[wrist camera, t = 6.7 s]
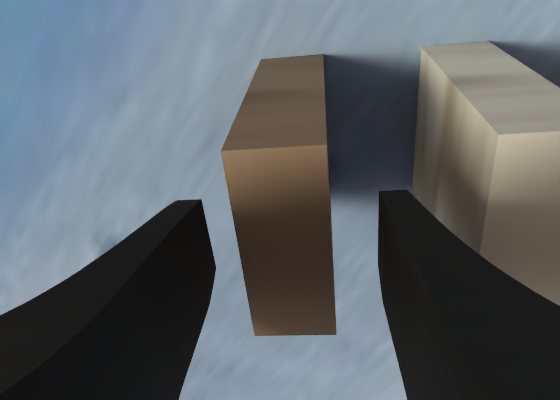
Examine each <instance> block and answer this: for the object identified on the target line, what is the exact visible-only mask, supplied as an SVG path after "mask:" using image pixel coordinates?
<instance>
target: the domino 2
mask: <svg viewBox="0 0 560 400" xmlns="http://www.w3.org/2000/svg"><path fill="white" fill-rule="evenodd" d="M413 189H414V192H415V195H416V197H417V200H418V201H419V202H420V203H421V204H422V205H423V206H424V207H425V208H426V209H427V210H428V211H429V212H430V213H431V214H433V215H434V216H435V217H436V218H437V219H438V220H439V221H440V222H441V223H442V224H443V225H444V226H445V227H447V228H448V229H449V230H450V231H451V232H452V233H453V234H455V235H456V236H457V237H458V238H459V239H460V240H462V241H463V242H464V243H465V244H467V245H468V246H469V247H470V248H472V249H473V250H474V251H476V252H477V253H478V254H480V255H481V256H482V257H484V258H485V259H486V260H488V261H489V262H490V263H492V264H493V265H494V266H496V267H497V268H499V269H500V270H502V271H503V272H505V273H506V274H508V275H509V276H511V277H512V278H514V279H516V280H517V281H519V282H520V283H522V284H523V285H525V286H527V287H528V288H530V289H531V290H533V291H535V292H536V293H538V294H540V295H541V296H543V297H545V298H547V299H548V300H550V301H552V302H554V303H556V304H557V305H559V306H560V88H559V87H558V86H556V85H555V84H553V83H551V82H550V81H548V80H547V79H545V78H544V77H542V76H541V75H539V74H538V73H536V72H535V71H533V70H532V69H530V68H529V67H527V66H526V65H524V64H522V63H521V62H519V61H518V60H516V59H515V58H513V57H512V56H510V55H509V54H507V53H506V52H504V51H503V50H501V49H500V48H498V47H497V46H495V45H493V44H492V43H490V42H489V41H483V42H471V43H459V44H447V45H435V46H423V47H421V54H420V71H419V88H418V105H417V122H416V139H415V156H414V173H413Z"/></svg>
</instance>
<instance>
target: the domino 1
mask: <svg viewBox="0 0 560 400" xmlns="http://www.w3.org/2000/svg"><path fill="white" fill-rule="evenodd" d="M221 155H222V160H223V165H224V171H225V176H226V182H227V187H228V193H229V198H230V204H231V209H232V215H233V220H234V226H235V231H236V236H237V242H238V247H239V253H240V258H241V264H242V269H243V275H244V280H245V286H246V291H247V297H248V302H249V307H250V313H251V318H252V324H253V329H254V335H255V336H275V335H336V316H335V293H334V270H333V247H332V225H331V202H330V180H329V160H328V140H327V120H326V100H325V80H324V60H323V54H320V55H308V56H297V57H285V58H273V59H261V61H260V63H259V65H258V68H257V70H256V72H255V75H254V77H253V79H252V81H251V84H250V86H249V88H248V91H247V93H246V95H245V97H244V100H243V102H242V104H241V106H240V109H239V111H238V113H237V116H236V118H235V120H234V122H233V125H232V127H231V129H230V131H229V134H228V136H227V138H226V141H225V143H224V145H223V147H222V150H221Z"/></svg>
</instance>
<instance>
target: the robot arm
mask: <svg viewBox="0 0 560 400" xmlns="http://www.w3.org/2000/svg"><path fill="white" fill-rule="evenodd" d="M378 268H379V276H380V284H381V292H382V299H383V304H384V308H385V312H386V316H387V320H388V324H389V328H390V332H391V336H392V340H393V344H394V348H395V352H396V356H397V359H398V363H399V367H400V371H401V375H402V379H403V383H404V387H405V391H406V396H407V400H560V306H559V305H557V304H556V303H554V302H552V301H550V300H548V299H547V298H545V297H543V296H541V295H540V294H538V293H536V292H535V291H533V290H531V289H530V288H528V287H527V286H525V285H523V284H522V283H520V282H519V281H517V280H516V279H514V278H512V277H511V276H509V275H508V274H506V273H505V272H503V271H502V270H500V269H499V268H497V267H496V266H494V265H493V264H492V263H490V262H489V261H488V260H486V259H485V258H484V257H482V256H481V255H480V254H478V253H477V252H476V251H474V250H473V249H472V248H470V247H469V246H468V245H467V244H465V243H464V242H463V241H462V240H460V239H459V238H458V237H457V236H456V235H455V234H453V233H452V232H451V231H450V230H449V229H448V228H447V227H445V226H444V225H443V224H442V223H441V222H440V221H439V220H438V219H437V218H436V217H435V216H434V215H433V214H431V213H430V212H429V211H428V210H427V209H426V208H425V207H424V206H423V205H422V204H421V203H420V202H419V201H418V200H417V199H416V198H415V197H414V196H413V195H412V194H411V193H410V192H409V191H408V190H392V191H379V226H378ZM215 271H216V265H215V261H214V256H213V251H212V247H211V242H210V237H209V233H208V228H207V224H206V219H205V214H204V210H203V205H202V201H201V199H200V200H178V201H175V202H173V203H172V204H170V205H169V206H167V207H166V208H164V209H163V210H162V211H160V212H159V213H158V214H156V215H155V216H154V217H153V218H151V219H150V220H149V221H147V222H146V223H145V224H143V225H142V226H141V227H140V228H138V229H137V230H136V231H134V232H133V233H132V234H130V235H129V236H128V237H126V238H125V239H124V240H122V241H121V242H120V243H118V244H117V245H116V246H114V247H113V248H111V249H110V250H109V251H107V252H106V253H104V254H103V255H101V256H100V257H99V258H97V259H96V260H94V261H93V262H91V263H90V264H89V265H87V266H86V267H84V268H83V269H81V270H80V271H78V272H77V273H75V274H74V275H72V276H71V277H69V278H67V279H66V280H64V281H63V282H61V283H59V284H58V285H56V286H54V287H52V288H51V289H49V290H47V291H46V292H44V293H42V294H40V295H39V296H37V297H35V298H33V299H32V300H30V301H28V302H26V303H24V304H22V305H20V306H18V307H16V308H14V309H12V310H10V311H8V312H6V313H4V314H2V315H0V400H179V396H180V393H181V389H182V386H183V383H184V380H185V377H186V374H187V371H188V368H189V365H190V362H191V359H192V356H193V353H194V350H195V347H196V344H197V341H198V338H199V335H200V332H201V329H202V326H203V323H204V320H205V317H206V314H207V311H208V307H209V304H210V299H211V294H212V289H213V283H214V277H215Z"/></svg>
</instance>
